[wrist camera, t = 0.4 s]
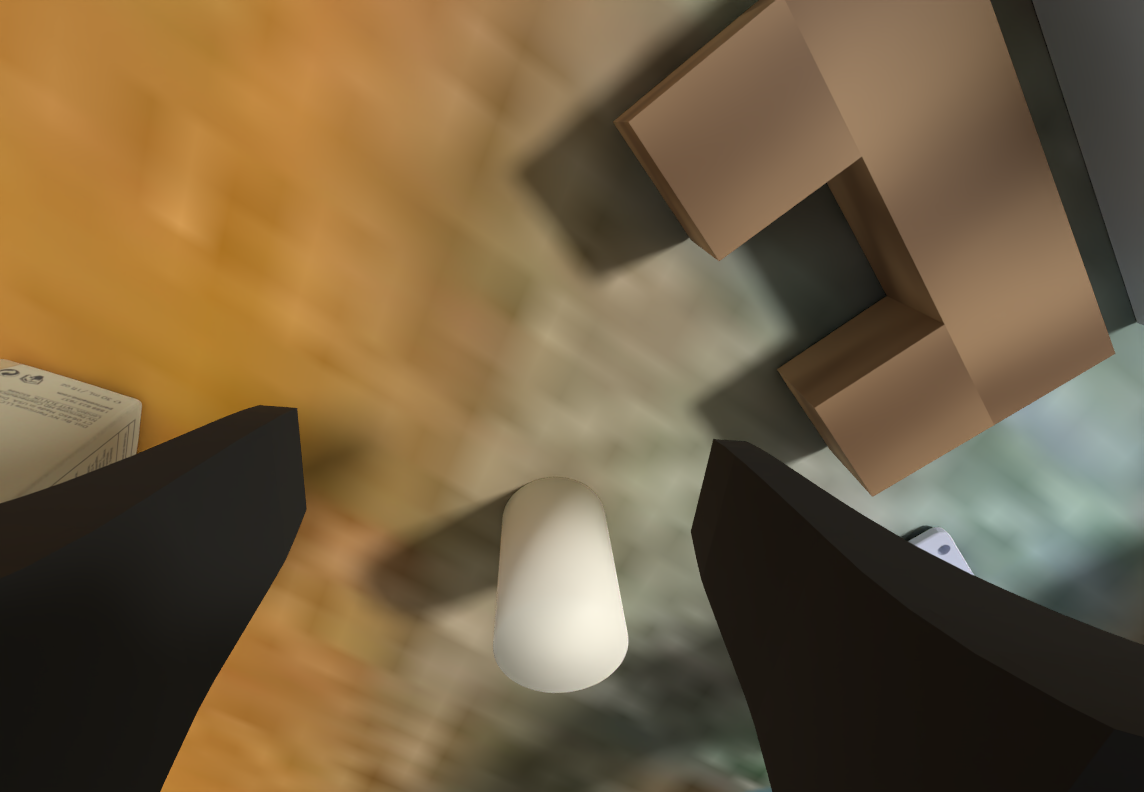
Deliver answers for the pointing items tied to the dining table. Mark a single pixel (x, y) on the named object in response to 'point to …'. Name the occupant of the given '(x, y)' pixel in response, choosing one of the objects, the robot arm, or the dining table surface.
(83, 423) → the skincare box
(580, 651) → the dowel
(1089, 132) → the wall
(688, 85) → the block
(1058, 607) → the dining table surface
